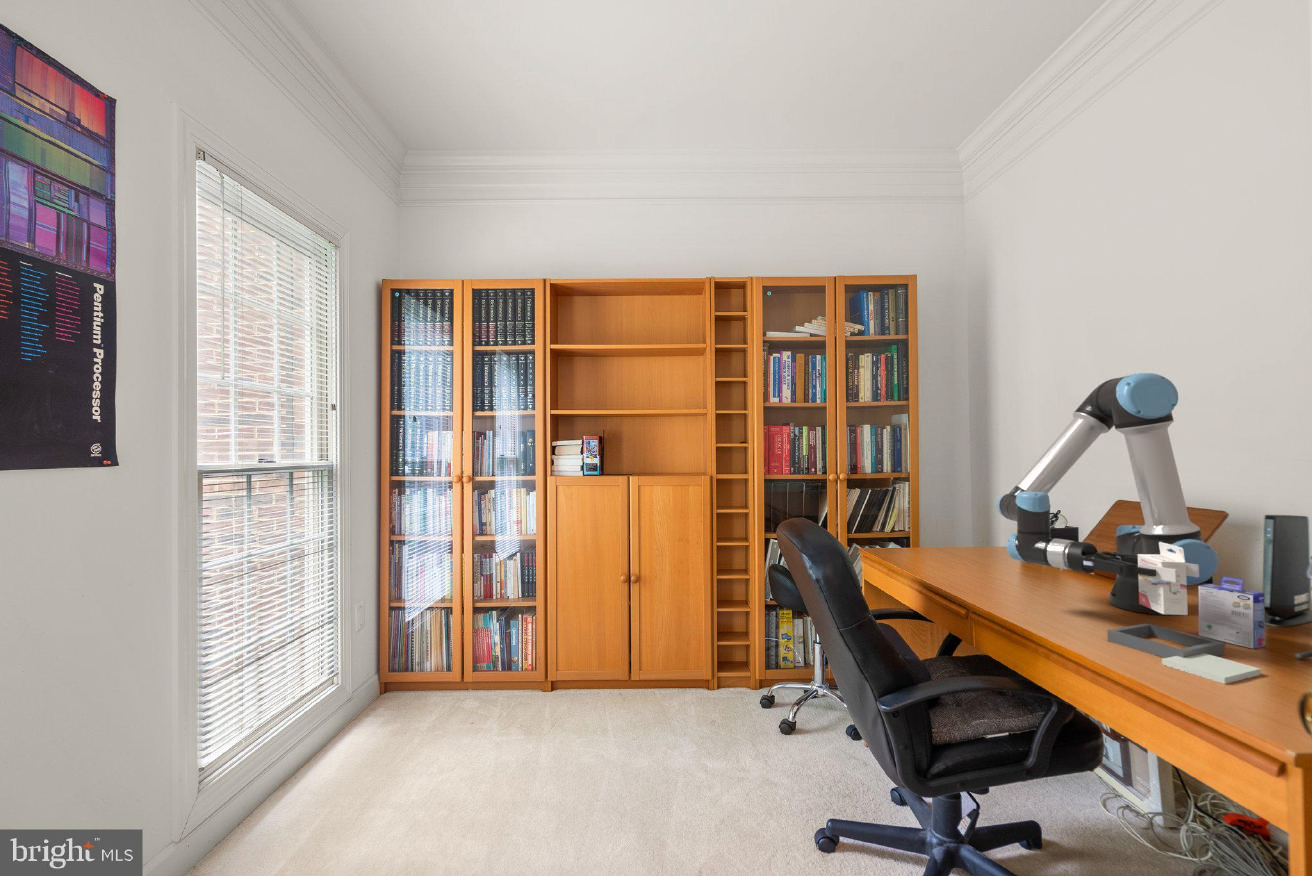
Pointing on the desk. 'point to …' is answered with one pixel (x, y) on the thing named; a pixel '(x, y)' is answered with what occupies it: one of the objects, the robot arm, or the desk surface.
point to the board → (1212, 667)
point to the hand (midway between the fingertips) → (1187, 573)
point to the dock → (1133, 633)
